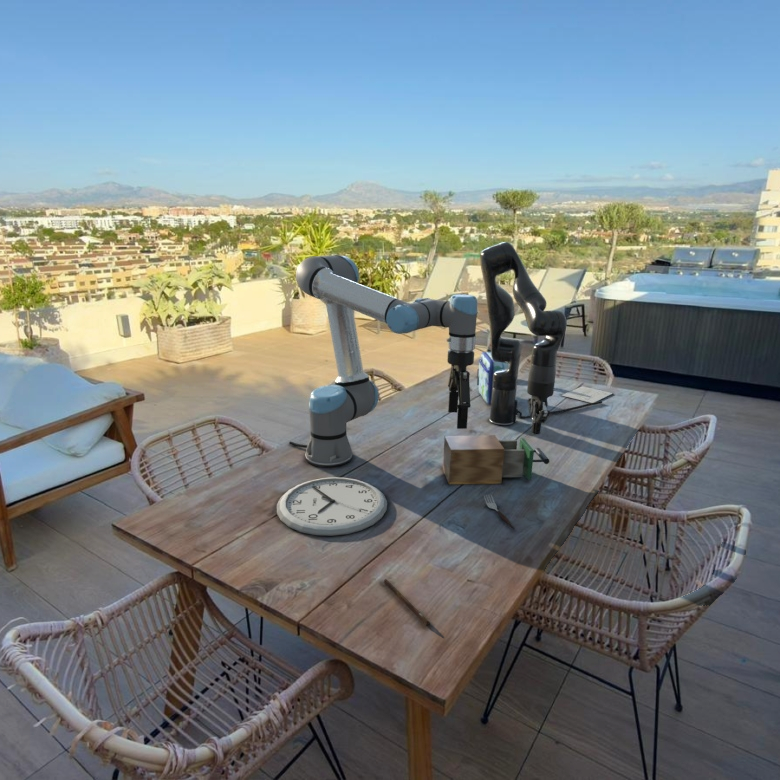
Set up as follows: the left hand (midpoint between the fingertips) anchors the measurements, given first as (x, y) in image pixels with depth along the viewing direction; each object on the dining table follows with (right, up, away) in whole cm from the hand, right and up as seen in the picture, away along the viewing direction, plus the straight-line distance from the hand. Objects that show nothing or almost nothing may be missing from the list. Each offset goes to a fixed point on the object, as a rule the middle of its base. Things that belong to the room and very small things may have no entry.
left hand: (457, 419), depth 155 cm
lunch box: (+25, +5, +78) cm, 82 cm away
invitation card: (+72, +7, +87) cm, 113 cm away
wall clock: (-36, -23, -12) cm, 44 cm away
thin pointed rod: (-17, -34, -49) cm, 62 cm away
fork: (+9, -25, -16) cm, 31 cm away
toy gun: (+30, +16, +116) cm, 121 cm away
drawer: (+18, -17, +7) cm, 25 cm away
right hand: (+24, -4, +3) cm, 25 cm away
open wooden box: (+5, -18, +6) cm, 19 cm away
